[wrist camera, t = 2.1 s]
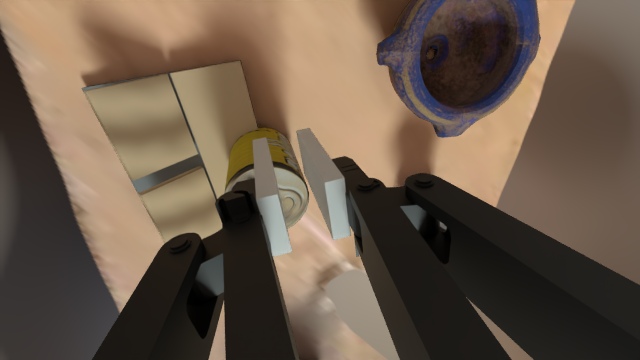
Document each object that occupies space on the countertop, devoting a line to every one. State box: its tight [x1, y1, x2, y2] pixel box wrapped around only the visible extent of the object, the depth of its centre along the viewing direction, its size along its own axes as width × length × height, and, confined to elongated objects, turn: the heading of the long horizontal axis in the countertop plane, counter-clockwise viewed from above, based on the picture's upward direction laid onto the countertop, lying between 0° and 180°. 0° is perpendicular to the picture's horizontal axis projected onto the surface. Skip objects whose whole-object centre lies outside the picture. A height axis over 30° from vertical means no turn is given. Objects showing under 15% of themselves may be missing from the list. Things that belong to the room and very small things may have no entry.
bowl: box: [376, 0, 541, 137], centre depth 36 cm, size 18×18×10 cm
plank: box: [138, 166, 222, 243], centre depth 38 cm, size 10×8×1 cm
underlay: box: [82, 60, 258, 212], centre depth 38 cm, size 22×18×2 cm
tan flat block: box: [83, 74, 198, 181], centre depth 32 cm, size 10×8×1 cm
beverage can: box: [224, 127, 309, 229], centre depth 35 cm, size 9×9×12 cm
